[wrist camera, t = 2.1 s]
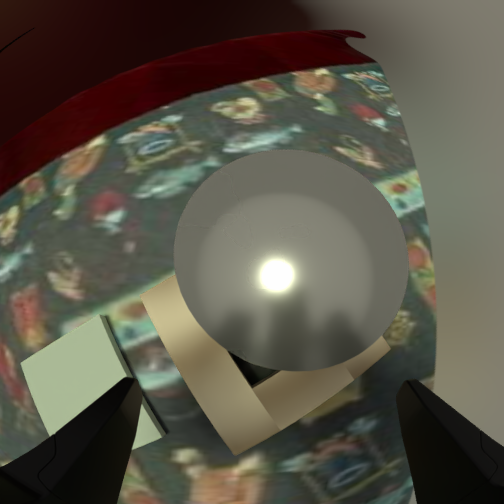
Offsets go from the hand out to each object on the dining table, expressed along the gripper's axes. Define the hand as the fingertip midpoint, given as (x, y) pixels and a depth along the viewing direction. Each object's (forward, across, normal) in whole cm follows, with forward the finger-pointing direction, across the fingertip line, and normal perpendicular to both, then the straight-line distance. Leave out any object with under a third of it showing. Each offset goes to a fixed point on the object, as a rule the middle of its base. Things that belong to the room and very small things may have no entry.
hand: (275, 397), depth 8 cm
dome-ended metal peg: (+10, 0, +5) cm, 11 cm away
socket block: (+10, 0, +5) cm, 11 cm away
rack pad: (+5, +14, +10) cm, 18 cm away
